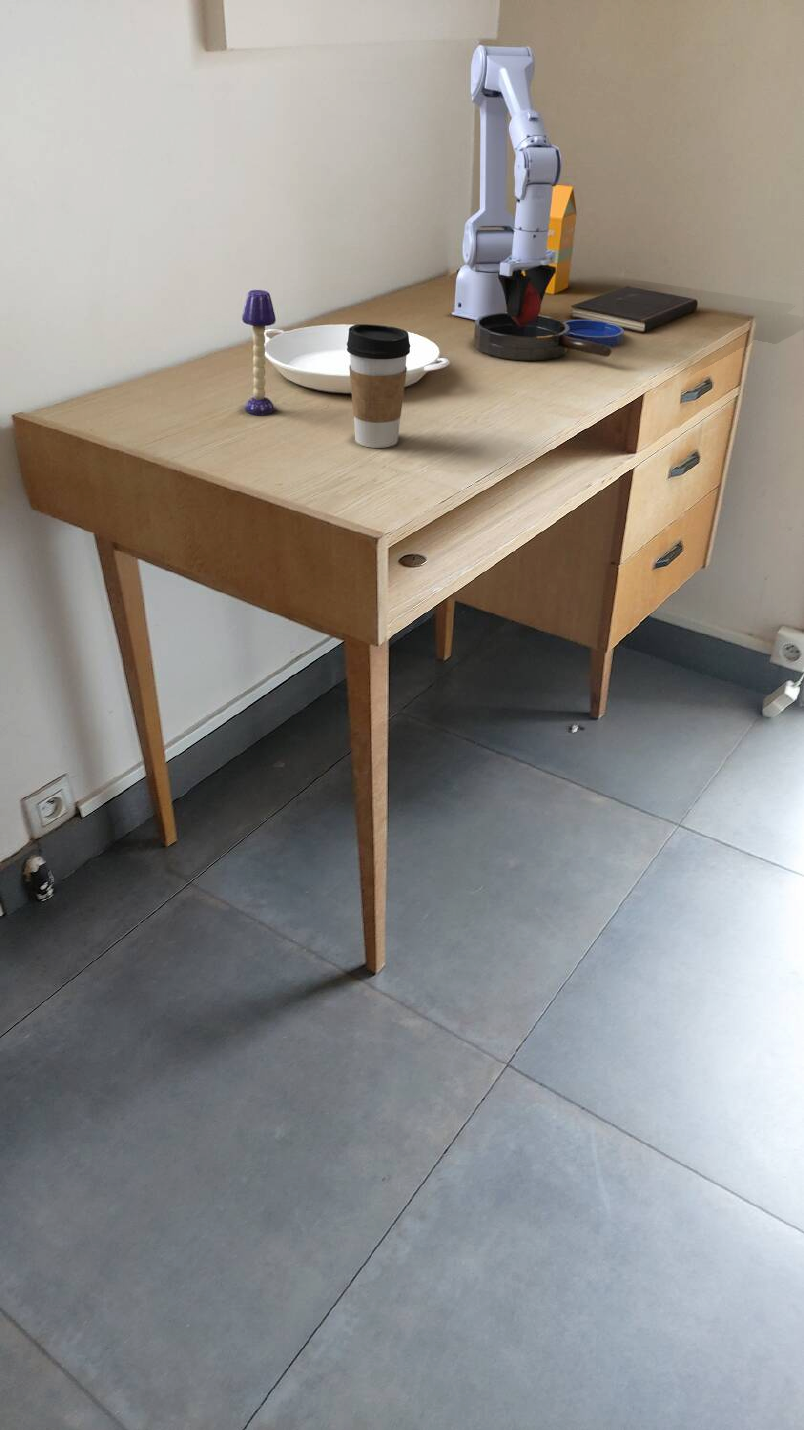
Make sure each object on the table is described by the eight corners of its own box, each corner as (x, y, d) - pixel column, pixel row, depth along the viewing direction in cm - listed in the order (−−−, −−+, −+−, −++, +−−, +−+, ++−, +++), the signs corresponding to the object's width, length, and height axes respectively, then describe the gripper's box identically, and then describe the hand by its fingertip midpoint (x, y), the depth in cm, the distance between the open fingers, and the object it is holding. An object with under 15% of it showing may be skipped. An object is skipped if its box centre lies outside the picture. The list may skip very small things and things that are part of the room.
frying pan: (455, 348, 184) (456, 324, 182) (506, 330, 195) (508, 307, 193) (534, 367, 176) (537, 343, 174) (583, 347, 187) (586, 324, 185)
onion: (538, 323, 186) (543, 276, 181) (538, 332, 181) (544, 283, 176) (505, 321, 186) (510, 273, 181) (505, 330, 181) (509, 281, 177)
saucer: (545, 338, 191) (546, 328, 190) (578, 326, 199) (579, 316, 198) (602, 351, 185) (603, 341, 184) (633, 338, 193) (635, 328, 192)
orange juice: (553, 294, 219) (565, 188, 207) (515, 287, 222) (525, 183, 211) (568, 287, 224) (581, 184, 213) (531, 281, 228) (541, 179, 216)
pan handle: (554, 346, 180) (555, 335, 179) (559, 344, 181) (560, 333, 180) (607, 359, 175) (609, 348, 174) (612, 356, 176) (614, 345, 175)
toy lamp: (271, 403, 157) (267, 286, 147) (283, 413, 153) (279, 294, 144) (241, 407, 155) (234, 289, 145) (252, 417, 151) (246, 297, 142)
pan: (216, 379, 165) (214, 351, 163) (305, 337, 186) (305, 311, 184) (408, 417, 154) (409, 387, 151) (480, 367, 175) (482, 340, 173)
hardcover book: (570, 317, 204) (571, 305, 202) (625, 297, 219) (627, 285, 217) (644, 333, 196) (646, 321, 194) (696, 311, 211) (698, 299, 210)
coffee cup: (344, 429, 149) (345, 320, 140) (404, 430, 149) (408, 321, 141) (347, 451, 142) (348, 338, 133) (409, 451, 143) (414, 339, 134)
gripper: (528, 238, 168) (520, 325, 175) (574, 226, 177) (564, 309, 185) (492, 231, 171) (485, 317, 179) (538, 220, 181) (530, 302, 188)
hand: (523, 313), depth 182 cm, fingers closed on onion, 6 cm apart
